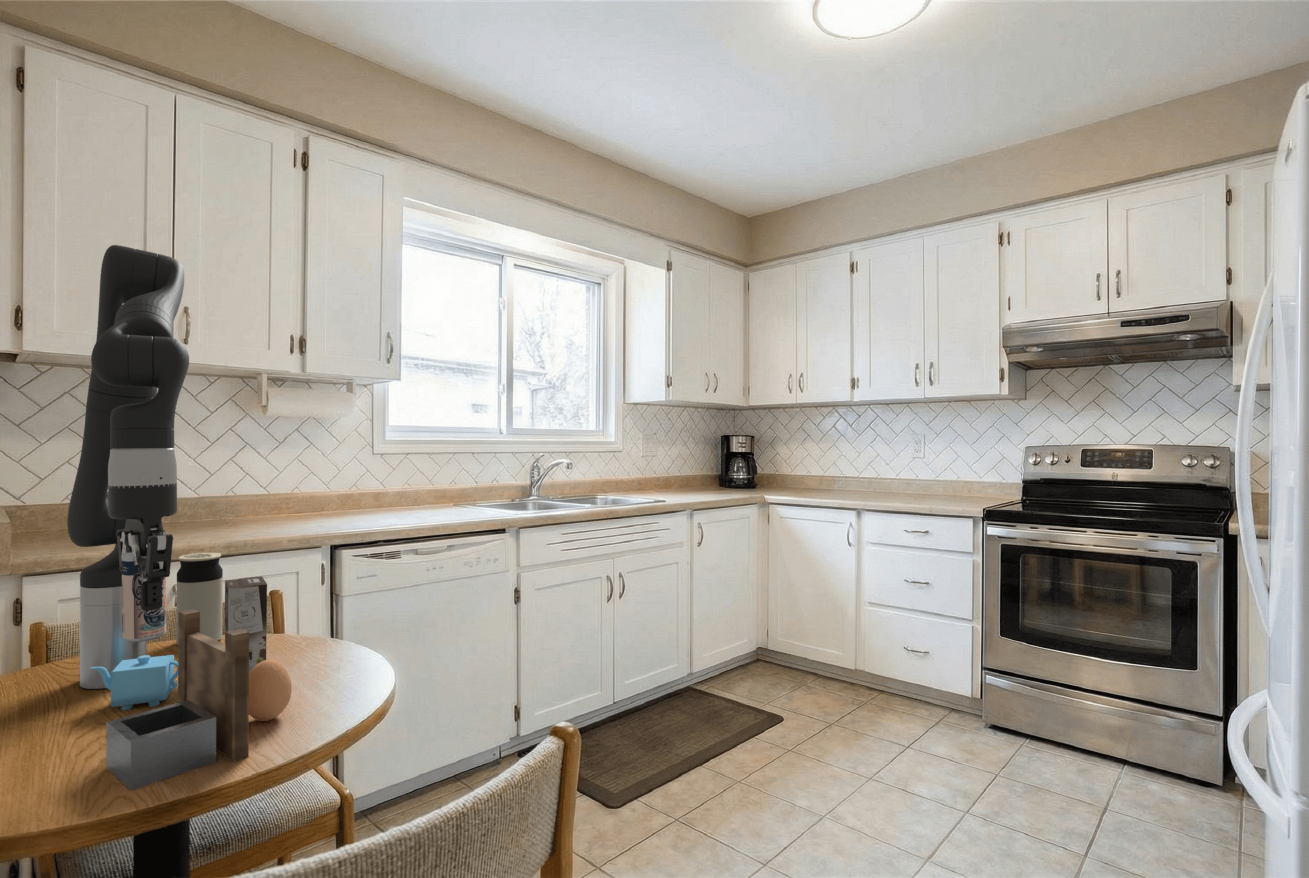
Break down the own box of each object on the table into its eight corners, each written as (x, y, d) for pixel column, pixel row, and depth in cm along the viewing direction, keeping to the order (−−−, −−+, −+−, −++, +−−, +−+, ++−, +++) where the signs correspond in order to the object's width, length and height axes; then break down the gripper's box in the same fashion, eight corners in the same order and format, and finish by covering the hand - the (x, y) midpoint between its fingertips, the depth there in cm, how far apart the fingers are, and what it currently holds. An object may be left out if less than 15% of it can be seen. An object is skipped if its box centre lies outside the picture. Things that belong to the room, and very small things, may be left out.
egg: (272, 707, 109) (273, 650, 109) (301, 715, 107) (301, 657, 106) (232, 723, 103) (232, 663, 103) (260, 732, 101) (261, 670, 100)
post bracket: (106, 767, 90) (106, 721, 90) (188, 741, 97) (188, 699, 97) (130, 790, 84) (131, 742, 84) (216, 761, 92) (216, 716, 91)
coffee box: (267, 671, 126) (268, 584, 125) (226, 678, 122) (226, 588, 122) (263, 657, 133) (263, 575, 133) (224, 663, 130) (224, 578, 129)
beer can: (142, 644, 90) (141, 553, 90) (113, 642, 91) (112, 553, 91) (175, 634, 95) (174, 548, 95) (146, 632, 96) (145, 547, 96)
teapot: (83, 716, 105) (83, 667, 105) (95, 702, 111) (96, 656, 111) (177, 704, 111) (177, 657, 111) (184, 691, 116) (184, 647, 116)
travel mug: (187, 650, 137) (187, 560, 137) (169, 643, 142) (169, 556, 141) (229, 640, 144) (229, 554, 144) (211, 633, 148) (211, 550, 148)
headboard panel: (178, 724, 103) (178, 611, 103) (193, 720, 104) (193, 608, 104) (232, 761, 91) (233, 635, 91) (248, 756, 93) (249, 631, 93)
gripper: (195, 481, 92) (196, 608, 92) (156, 479, 101) (157, 595, 101) (127, 485, 86) (129, 620, 86) (92, 482, 95) (93, 605, 95)
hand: (144, 606), depth 93 cm, fingers closed on beer can, 4 cm apart
